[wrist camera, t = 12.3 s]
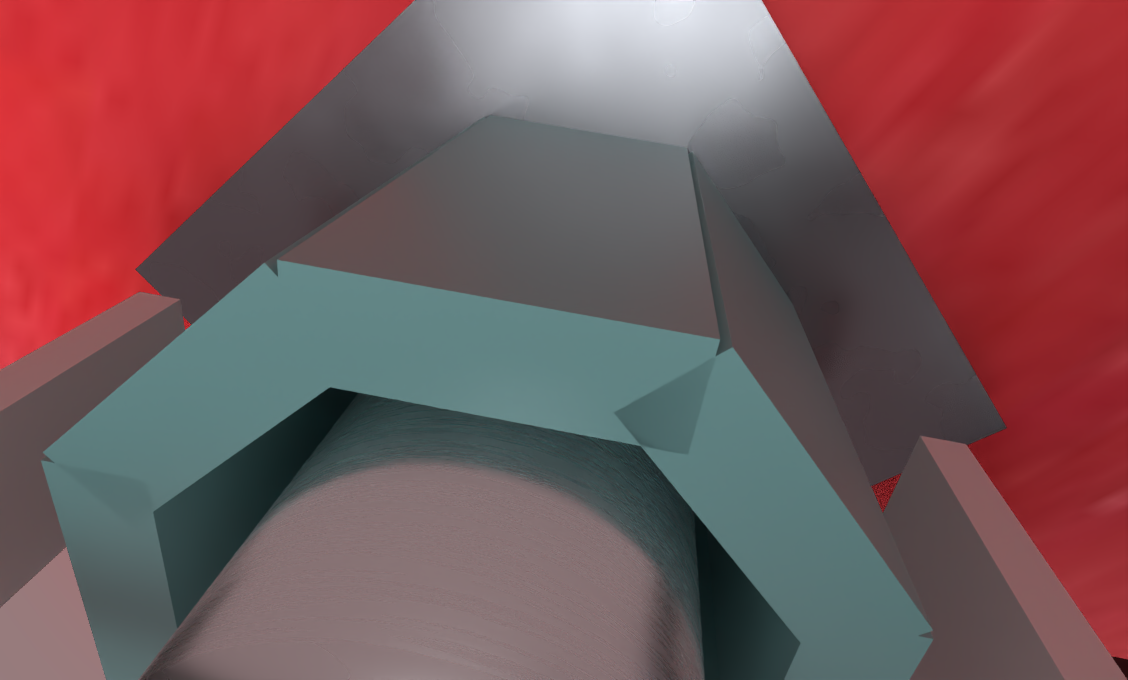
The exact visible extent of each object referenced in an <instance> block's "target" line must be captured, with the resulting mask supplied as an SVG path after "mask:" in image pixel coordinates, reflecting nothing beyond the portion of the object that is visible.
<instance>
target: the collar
mask: <svg viewBox="0 0 1128 680" xmlns="http://www.w3.org/2000/svg"><path fill="white" fill-rule="evenodd" d="M358 393H363V394H368V395H374V396H379V397H384V398H390V399H395V400H400V401H405V402H411V403H416V404H421V405H426V406H432V407H437V408H442V409H448V410H453V411H458V412H463V413H469V414H474V415H479V416H484V417H490V418H495V419H500V420H506V421H511V422H516V423H521V424H527V425H532V426H537V427H542V428H548V429H553V430H558V431H564V432H569V433H574V434H579V435H585V436H590V437H595V438H600V439H606V440H611V441H616V442H622V443H627V444H632V445H637V446H641V447H642V448H643V449H644V451H645V452H646V453H647V454H648V455H649V457H650V458H651V459H652V460H653V462H654V463H655V464H656V465H657V467H658V468H659V469H660V470H661V471H662V473H663V474H664V475H665V476H666V478H667V479H668V480H669V481H670V483H671V484H672V485H673V486H674V487H675V489H676V490H677V491H678V492H679V494H680V495H681V496H682V497H683V499H684V500H685V501H686V502H687V504H688V505H689V506H690V507H691V508H692V510H693V511H694V519H695V535H696V550H697V566H698V582H699V597H700V613H701V629H702V644H703V660H704V676H705V680H910V678H911V676H912V675H913V673H914V671H915V670H916V668H917V666H918V664H919V663H920V661H921V659H922V658H923V656H924V654H925V653H926V651H927V649H928V648H929V646H930V644H931V643H932V641H933V636H932V634H931V632H930V631H933V629H932V626H931V624H930V622H929V619H928V617H927V615H926V612H925V610H924V608H923V605H922V603H921V601H920V598H919V596H918V594H917V591H916V589H915V587H914V584H913V582H912V580H911V577H910V575H909V573H908V571H907V568H906V566H905V564H904V561H903V559H902V557H901V554H900V552H899V550H898V547H897V545H896V543H895V540H894V538H893V536H892V533H891V531H890V529H889V526H888V524H887V522H886V519H885V517H884V515H883V513H882V510H881V508H880V506H879V503H878V501H877V499H876V496H875V494H874V492H873V489H872V487H871V485H870V482H869V480H868V478H867V475H866V473H865V471H864V468H863V466H862V464H861V461H860V459H859V457H858V455H857V452H856V450H855V448H854V445H853V443H852V441H851V438H850V436H849V434H848V431H847V429H846V427H845V424H844V422H843V420H842V417H841V415H840V413H839V410H838V408H837V406H836V403H835V401H834V399H833V396H832V394H831V392H830V390H829V387H828V385H827V383H826V380H825V378H824V376H823V373H822V371H821V369H820V366H819V364H818V362H817V359H816V357H815V355H814V352H813V350H812V348H811V345H810V343H809V341H808V338H807V336H806V334H805V332H804V329H803V327H802V325H801V322H800V320H799V318H798V315H797V313H796V311H795V308H794V306H793V304H792V302H791V301H790V299H789V298H788V296H787V295H786V293H785V292H784V290H783V289H782V287H781V286H780V284H779V282H778V281H777V279H776V278H775V276H774V275H773V273H772V272H771V270H770V269H769V267H768V266H767V264H766V263H765V261H764V260H763V258H762V257H761V255H760V253H759V252H758V250H757V249H756V247H755V246H754V244H753V243H752V241H751V240H750V238H749V237H748V235H747V234H746V232H745V231H744V229H743V228H742V226H741V224H740V223H739V221H738V220H737V218H736V217H735V215H734V214H733V212H732V211H731V209H730V208H729V206H728V205H727V203H726V202H725V200H724V199H723V197H722V195H721V194H720V192H719V191H718V189H717V188H716V186H715V185H714V183H713V182H712V180H711V179H710V177H709V176H708V174H707V173H706V171H705V170H704V168H703V166H702V165H701V163H700V162H699V160H698V159H697V157H696V156H695V154H694V153H693V151H692V152H691V153H689V154H688V151H687V148H686V147H680V146H674V145H668V144H662V143H656V142H650V141H644V140H638V139H632V138H626V137H620V136H614V135H608V134H602V133H596V132H590V131H584V130H577V129H571V128H565V127H559V126H553V125H547V124H541V123H535V122H529V121H523V120H517V119H511V118H505V117H499V116H493V115H490V116H488V117H487V118H485V117H483V118H482V119H480V120H479V121H477V122H475V123H474V124H472V125H471V126H469V127H468V128H466V129H465V130H463V131H462V132H460V133H459V134H457V135H456V136H454V137H453V138H451V139H450V140H448V141H447V142H445V143H444V144H442V145H441V146H439V147H438V148H436V149H435V150H433V151H432V152H430V153H429V154H427V155H426V156H424V157H423V158H421V159H420V160H418V161H417V162H415V163H414V164H412V165H411V166H409V167H408V168H406V169H405V170H403V171H402V172H400V173H399V174H397V175H396V176H394V177H393V178H391V179H390V180H388V181H387V182H385V183H384V184H382V185H381V186H379V187H378V188H376V189H375V190H373V191H372V192H370V193H369V194H367V195H366V196H364V197H362V198H361V199H359V200H358V201H356V202H355V203H353V204H352V205H350V206H349V207H347V208H346V209H344V210H343V211H341V212H340V213H338V214H337V215H335V216H334V217H332V218H331V219H329V220H328V221H326V222H325V223H323V224H322V225H320V226H319V227H317V228H316V229H314V230H313V231H311V232H310V233H308V234H307V235H305V236H304V237H302V238H301V239H299V240H298V241H296V242H295V243H293V244H292V245H290V246H289V247H287V248H286V249H284V250H283V251H281V252H280V253H278V254H277V255H275V256H274V257H272V258H271V259H269V260H268V261H266V262H265V263H263V264H262V265H261V266H260V267H259V268H258V269H256V270H255V271H254V272H253V273H252V274H251V275H249V276H248V277H247V278H246V279H245V280H243V281H242V282H241V283H240V284H239V285H238V286H236V287H235V288H234V289H233V290H232V291H231V292H229V293H228V294H227V295H226V296H225V297H224V298H222V299H221V300H220V301H219V302H218V303H217V304H215V305H214V306H213V307H212V308H211V309H210V310H208V311H207V312H206V313H205V314H204V315H203V316H201V317H200V318H199V319H198V320H197V321H196V322H194V323H193V324H192V325H191V326H190V327H189V328H187V329H186V330H185V331H184V332H183V333H182V334H180V335H179V336H178V337H177V338H176V339H175V340H173V341H172V342H171V343H170V344H169V345H168V346H166V347H165V348H164V349H163V350H162V351H161V352H159V353H158V354H157V355H156V356H155V357H154V358H152V359H151V360H150V361H149V362H148V363H147V364H145V365H144V366H143V367H142V368H141V369H140V370H138V371H137V372H136V373H135V374H134V375H133V376H131V377H130V378H129V379H128V380H127V381H126V382H124V383H123V384H122V385H121V386H120V387H119V388H117V389H116V390H115V391H114V392H113V393H112V394H110V395H109V396H108V397H107V398H106V399H104V400H103V401H102V402H101V403H100V404H99V405H97V406H96V407H95V408H94V409H93V410H92V411H90V412H89V413H88V414H87V415H86V416H85V417H83V418H82V419H81V420H80V421H79V422H78V423H76V424H75V425H74V426H73V427H72V428H71V429H69V430H68V431H67V432H66V433H65V434H64V435H62V436H61V437H60V438H59V439H58V440H57V441H55V442H54V443H53V444H52V445H51V446H50V447H48V448H47V449H46V450H45V451H44V452H43V453H44V454H45V455H46V457H44V458H43V459H42V460H41V463H42V466H43V469H44V473H45V476H46V480H47V483H48V486H49V490H50V493H51V496H52V500H53V503H54V506H55V510H56V513H57V516H58V520H59V523H60V526H61V530H62V533H63V536H64V540H65V543H66V547H67V550H68V553H69V557H70V560H71V563H72V567H73V570H74V573H75V577H76V580H77V583H78V586H79V590H80V593H81V597H82V600H83V603H84V607H85V610H86V613H87V617H88V620H89V624H90V627H91V630H92V633H93V637H94V640H95V644H96V647H97V650H98V654H99V657H100V660H101V664H102V667H103V670H104V674H105V677H106V680H138V679H139V678H140V677H141V675H142V674H143V673H144V671H145V670H146V669H147V667H148V666H149V665H150V664H151V662H152V661H153V660H154V658H155V657H156V656H157V654H158V653H159V652H160V651H161V649H162V648H163V647H164V645H165V644H166V643H167V641H168V640H169V639H170V638H171V636H172V635H173V634H174V632H175V631H176V630H177V628H178V627H179V626H180V625H181V623H182V622H183V621H184V619H185V618H186V617H187V615H188V614H189V613H190V612H191V610H192V609H193V608H194V606H195V605H196V604H197V602H198V601H199V600H200V599H201V597H202V596H203V595H204V593H205V592H206V591H207V589H208V588H209V587H210V586H211V584H212V583H213V582H214V580H215V579H216V578H217V576H218V575H219V574H220V573H221V571H222V570H223V569H224V567H225V566H226V565H227V563H228V562H229V561H230V559H231V558H232V557H233V556H234V554H235V553H236V552H237V550H238V549H239V548H240V546H241V545H242V544H243V543H244V541H245V540H246V539H247V537H248V536H249V535H250V533H251V532H252V531H253V530H254V528H255V527H256V526H257V524H258V523H259V522H260V520H261V519H262V518H263V517H264V515H265V514H266V513H267V511H268V510H269V509H270V507H271V506H272V505H273V504H274V502H275V501H276V500H277V498H278V497H279V496H280V494H281V493H282V492H283V491H284V489H285V488H286V487H287V485H288V484H289V483H290V481H291V480H292V479H293V478H294V476H295V475H296V474H297V472H298V471H299V470H300V468H301V467H302V466H303V465H304V463H305V462H306V461H307V459H308V458H309V457H310V455H311V454H312V453H313V452H314V450H315V449H316V448H317V446H318V445H319V444H320V442H321V441H322V440H323V439H324V437H325V436H326V435H327V433H328V432H329V431H330V429H331V428H332V427H333V426H334V424H335V423H336V422H337V420H338V419H339V418H340V416H341V415H342V414H343V413H344V411H345V410H346V409H347V407H348V406H349V405H350V403H351V402H352V401H353V400H354V398H355V397H356V396H357V394H358Z"/></svg>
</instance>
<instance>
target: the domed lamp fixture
mask: <svg viewBox="0 0 1128 680" xmlns="http://www.w3.org/2000/svg"><path fill="white" fill-rule="evenodd" d="M490 115H493V116H499V117H505V118H511V119H517V120H523V121H529V122H535V123H541V124H547V125H553V126H559V127H565V128H571V129H577V130H584V131H590V132H596V133H602V134H608V135H614V136H620V137H626V138H632V139H638V140H644V141H650V142H656V143H662V144H668V145H674V146H680V147H686V148H687V151H688V154H689V153H691V152H692V151H693V153H694V154H695V156H696V157H697V159H698V160H699V162H700V163H701V165H702V166H703V168H704V170H705V171H706V173H707V174H708V176H709V177H710V179H711V180H712V182H713V183H714V185H715V186H716V188H717V189H718V191H719V192H720V194H721V195H722V197H723V199H724V200H725V202H726V203H727V205H728V206H729V208H730V209H731V211H732V212H733V214H734V215H735V217H736V218H737V220H738V221H739V223H740V224H741V226H742V228H743V229H744V231H745V232H746V234H747V235H748V237H749V238H750V240H751V241H752V243H753V244H754V246H755V247H756V249H757V250H758V252H759V253H760V255H761V257H762V258H763V260H764V261H765V263H766V264H767V266H768V267H769V269H770V270H771V272H772V273H773V275H774V276H775V278H776V279H777V281H778V282H779V284H780V286H781V287H782V289H783V290H784V292H785V293H786V295H787V296H788V298H789V299H790V301H791V302H792V304H793V306H794V308H795V311H796V313H797V315H798V318H799V320H800V322H801V325H802V327H803V329H804V332H805V334H806V336H807V338H808V341H809V343H810V345H811V348H812V350H813V352H814V355H815V357H816V359H817V362H818V364H819V366H820V369H821V371H822V373H823V376H824V378H825V380H826V383H827V385H828V387H829V390H830V392H831V394H832V396H833V399H834V401H835V403H836V406H837V408H838V410H839V413H840V415H841V417H842V420H843V422H844V424H845V427H846V429H847V431H848V434H849V436H850V438H851V441H852V443H853V445H854V448H855V450H856V452H857V455H858V457H859V459H860V461H861V464H862V466H863V468H864V471H865V473H866V475H867V478H868V480H869V482H870V485H871V486H873V485H875V484H877V483H880V482H882V481H884V480H887V479H889V478H891V477H894V476H896V475H898V474H901V473H902V472H903V470H904V468H905V466H906V464H907V462H908V460H909V458H910V455H911V453H912V451H913V449H914V447H915V445H916V443H917V441H918V439H919V437H920V436H925V437H930V438H936V439H941V440H947V441H952V442H957V443H963V444H966V445H968V444H971V443H973V442H975V441H978V440H980V439H982V438H985V437H987V436H989V435H992V434H994V433H996V432H999V431H1001V430H1003V429H1006V428H1007V427H1006V426H1005V424H1004V422H1003V420H1002V419H1001V417H1000V415H999V413H998V412H997V410H996V408H995V406H994V405H993V403H992V401H991V399H990V398H989V396H988V394H987V392H986V391H985V389H984V387H983V386H982V384H981V382H980V380H979V379H978V377H977V375H976V373H975V372H974V370H973V368H972V366H971V365H970V363H969V361H968V359H967V358H966V356H965V354H964V352H963V351H962V349H961V347H960V345H959V344H958V342H957V340H956V338H955V337H954V335H953V333H952V331H951V330H950V328H949V326H948V324H947V323H946V321H945V319H944V318H943V316H942V314H941V312H940V311H939V309H938V307H937V305H936V304H935V302H934V300H933V298H932V297H931V295H930V293H929V291H928V290H927V288H926V286H925V284H924V283H923V281H922V279H921V277H920V276H919V274H918V272H917V270H916V269H915V267H914V265H913V263H912V262H911V260H910V258H909V257H908V255H907V253H906V251H905V250H904V248H903V246H902V244H901V243H900V241H899V239H898V237H897V236H896V234H895V232H894V230H893V229H892V227H891V225H890V223H889V222H888V220H887V218H886V216H885V215H884V213H883V211H882V209H881V208H880V206H879V204H878V202H877V201H876V199H875V197H874V196H873V194H872V192H871V190H870V189H869V187H868V185H867V183H866V182H865V180H864V178H863V176H862V175H861V173H860V171H859V169H858V168H857V166H856V164H855V162H854V161H853V159H852V157H851V155H850V154H849V152H848V150H847V148H846V147H845V145H844V143H843V141H842V140H841V138H840V136H839V134H838V133H837V131H836V129H835V128H834V126H833V124H832V122H831V121H830V119H829V117H828V115H827V114H826V112H825V110H824V108H823V107H822V105H821V103H820V101H819V100H818V98H817V96H816V94H815V93H814V91H813V89H812V87H811V86H810V84H809V82H808V80H807V79H806V77H805V75H804V73H803V72H802V70H801V68H800V67H799V65H798V63H797V61H796V60H795V58H794V56H793V54H792V53H791V51H790V49H789V47H788V46H787V44H786V42H785V40H784V39H783V37H782V35H781V33H780V32H779V30H778V28H777V26H776V25H775V23H774V21H773V19H772V18H771V16H770V14H769V12H768V11H767V9H766V7H765V6H764V4H763V2H762V0H415V1H414V2H413V3H411V4H410V5H409V6H408V7H407V8H406V9H405V10H404V11H403V12H402V13H401V14H400V15H399V16H398V17H397V18H396V19H395V20H394V21H393V22H392V23H391V24H390V25H389V26H388V27H387V28H386V29H384V30H383V31H382V32H381V33H380V34H379V35H378V36H377V37H376V38H375V39H374V40H373V41H372V42H371V43H370V44H369V45H368V46H367V47H366V48H365V49H364V50H363V51H362V52H361V53H360V54H359V55H357V56H356V57H355V58H354V59H353V60H352V61H351V62H350V63H349V64H348V65H347V66H346V67H345V68H344V69H343V70H342V71H341V72H340V73H339V74H338V75H337V76H336V77H335V78H334V79H333V80H332V81H331V82H329V83H328V84H327V85H326V86H325V87H324V88H323V89H322V90H321V91H320V92H319V93H318V94H317V95H316V96H315V97H314V98H313V99H312V100H311V101H310V102H309V103H308V104H307V105H306V106H305V107H304V108H302V109H301V110H300V111H299V112H298V113H297V114H296V115H295V116H294V117H293V118H292V119H291V120H290V121H289V122H288V123H287V124H286V125H285V126H284V127H283V128H282V129H281V130H280V131H279V132H278V133H277V134H275V135H274V136H273V137H272V138H271V139H270V140H269V141H268V142H267V143H266V144H265V145H264V146H263V147H262V148H261V149H260V150H259V151H258V152H257V153H256V154H255V155H254V156H253V157H252V158H251V159H250V160H249V161H247V162H246V163H245V164H244V165H243V166H242V167H241V168H240V169H239V170H238V171H237V172H236V173H235V174H234V175H233V176H232V177H231V178H230V179H229V180H228V181H227V182H226V183H225V184H224V185H223V186H222V187H220V188H219V189H218V190H217V191H216V192H215V193H214V194H213V195H212V196H211V197H210V198H209V199H208V200H207V201H206V202H205V203H204V204H203V205H202V206H201V207H200V208H199V209H198V210H197V211H196V212H195V213H193V214H192V215H191V216H190V217H189V218H188V219H187V220H186V221H185V222H184V223H183V224H182V225H181V226H180V227H179V228H178V229H177V230H176V231H175V232H174V233H173V234H172V235H171V236H170V237H169V238H168V239H167V240H165V241H164V242H163V243H162V244H161V245H160V246H159V247H158V248H157V249H156V250H155V251H154V252H153V253H152V254H151V255H150V256H149V257H148V258H147V259H146V260H145V261H144V262H143V263H142V264H141V265H140V266H138V267H137V268H136V269H135V270H136V271H137V272H138V273H139V274H140V275H141V276H143V277H144V278H145V279H146V280H147V281H148V282H149V283H150V284H151V285H152V286H153V287H154V288H155V289H156V290H157V291H158V292H159V293H160V294H161V295H162V296H165V297H171V298H176V299H180V301H181V308H182V314H183V317H184V318H185V319H186V320H187V321H188V322H189V323H190V324H191V325H192V324H193V323H194V322H196V321H197V320H198V319H199V318H200V317H201V316H203V315H204V314H205V313H206V312H207V311H208V310H210V309H211V308H212V307H213V306H214V305H215V304H217V303H218V302H219V301H220V300H221V299H222V298H224V297H225V296H226V295H227V294H228V293H229V292H231V291H232V290H233V289H234V288H235V287H236V286H238V285H239V284H240V283H241V282H242V281H243V280H245V279H246V278H247V277H248V276H249V275H251V274H252V273H253V272H254V271H255V270H256V269H258V268H259V267H260V266H261V265H262V264H263V263H265V262H266V261H268V260H269V259H271V258H272V257H274V256H275V255H277V254H278V253H280V252H281V251H283V250H284V249H286V248H287V247H289V246H290V245H292V244H293V243H295V242H296V241H298V240H299V239H301V238H302V237H304V236H305V235H307V234H308V233H310V232H311V231H313V230H314V229H316V228H317V227H319V226H320V225H322V224H323V223H325V222H326V221H328V220H329V219H331V218H332V217H334V216H335V215H337V214H338V213H340V212H341V211H343V210H344V209H346V208H347V207H349V206H350V205H352V204H353V203H355V202H356V201H358V200H359V199H361V198H362V197H364V196H366V195H367V194H369V193H370V192H372V191H373V190H375V189H376V188H378V187H379V186H381V185H382V184H384V183H385V182H387V181H388V180H390V179H391V178H393V177H394V176H396V175H397V174H399V173H400V172H402V171H403V170H405V169H406V168H408V167H409V166H411V165H412V164H414V163H415V162H417V161H418V160H420V159H421V158H423V157H424V156H426V155H427V154H429V153H430V152H432V151H433V150H435V149H436V148H438V147H439V146H441V145H442V144H444V143H445V142H447V141H448V140H450V139H451V138H453V137H454V136H456V135H457V134H459V133H460V132H462V131H463V130H465V129H466V128H468V127H469V126H471V125H472V124H474V123H475V122H477V121H479V120H480V119H482V118H483V117H485V118H487V117H488V116H490ZM138 680H705V676H704V660H703V644H702V629H701V613H700V597H699V582H698V566H697V550H696V535H695V519H694V511H693V510H692V508H691V507H690V506H689V505H688V504H687V502H686V501H685V500H684V499H683V497H682V496H681V495H680V494H679V492H678V491H677V490H676V489H675V487H674V486H673V485H672V484H671V483H670V481H669V480H668V479H667V478H666V476H665V475H664V474H663V473H662V471H661V470H660V469H659V468H658V467H657V465H656V464H655V463H654V462H653V460H652V459H651V458H650V457H649V455H648V454H647V453H646V452H645V451H644V449H643V448H642V447H641V446H637V445H632V444H627V443H622V442H616V441H611V440H606V439H600V438H595V437H590V436H585V435H579V434H574V433H569V432H564V431H558V430H553V429H548V428H542V427H537V426H532V425H527V424H521V423H516V422H511V421H506V420H500V419H495V418H490V417H484V416H479V415H474V414H469V413H463V412H458V411H453V410H448V409H442V408H437V407H432V406H426V405H421V404H416V403H411V402H405V401H400V400H395V399H390V398H384V397H379V396H374V395H368V394H363V393H358V394H357V396H356V397H355V398H354V400H353V401H352V402H351V403H350V405H349V406H348V407H347V409H346V410H345V411H344V413H343V414H342V415H341V416H340V418H339V419H338V420H337V422H336V423H335V424H334V426H333V427H332V428H331V429H330V431H329V432H328V433H327V435H326V436H325V437H324V439H323V440H322V441H321V442H320V444H319V445H318V446H317V448H316V449H315V450H314V452H313V453H312V454H311V455H310V457H309V458H308V459H307V461H306V462H305V463H304V465H303V466H302V467H301V468H300V470H299V471H298V472H297V474H296V475H295V476H294V478H293V479H292V480H291V481H290V483H289V484H288V485H287V487H286V488H285V489H284V491H283V492H282V493H281V494H280V496H279V497H278V498H277V500H276V501H275V502H274V504H273V505H272V506H271V507H270V509H269V510H268V511H267V513H266V514H265V515H264V517H263V518H262V519H261V520H260V522H259V523H258V524H257V526H256V527H255V528H254V530H253V531H252V532H251V533H250V535H249V536H248V537H247V539H246V540H245V541H244V543H243V544H242V545H241V546H240V548H239V549H238V550H237V552H236V553H235V554H234V556H233V557H232V558H231V559H230V561H229V562H228V563H227V565H226V566H225V567H224V569H223V570H222V571H221V573H220V574H219V575H218V576H217V578H216V579H215V580H214V582H213V583H212V584H211V586H210V587H209V588H208V589H207V591H206V592H205V593H204V595H203V596H202V597H201V599H200V600H199V601H198V602H197V604H196V605H195V606H194V608H193V609H192V610H191V612H190V613H189V614H188V615H187V617H186V618H185V619H184V621H183V622H182V623H181V625H180V626H179V627H178V628H177V630H176V631H175V632H174V634H173V635H172V636H171V638H170V639H169V640H168V641H167V643H166V644H165V645H164V647H163V648H162V649H161V651H160V652H159V653H158V654H157V656H156V657H155V658H154V660H153V661H152V662H151V664H150V665H149V666H148V667H147V669H146V670H145V671H144V673H143V674H142V675H141V677H140V678H139V679H138Z"/></svg>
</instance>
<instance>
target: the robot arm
mask: <svg viewBox="0 0 1128 680" xmlns="http://www.w3.org/2000/svg"><path fill="white" fill-rule="evenodd" d="M184 331H185V327H184V321H183V314H182V308H181V301H180V299H176V298H171V297H165V296H160V295H154V294H149V293H144V292H138V293H137V294H135V295H133V296H131V297H129V298H128V299H126V300H124V301H122V302H121V303H119V304H117V305H115V306H113V307H112V308H110V309H108V310H106V311H104V312H103V313H101V314H99V315H97V316H96V317H94V318H92V319H90V320H88V321H87V322H85V323H83V324H81V325H80V326H78V327H76V328H74V329H72V330H71V331H69V332H67V333H65V334H63V335H62V336H60V337H58V338H56V339H55V340H53V341H51V342H49V343H47V344H46V345H44V346H42V347H40V348H39V349H37V350H35V351H33V352H31V353H30V354H28V355H26V356H24V357H22V358H21V359H19V360H17V361H15V362H14V363H12V364H10V365H8V366H6V367H5V368H3V369H1V370H0V607H1V606H2V605H3V604H5V603H6V602H7V601H8V600H9V599H10V598H11V597H12V596H13V595H14V594H15V593H17V592H18V591H19V590H20V589H21V588H22V587H23V586H24V585H25V584H26V583H27V582H28V581H30V580H31V579H32V578H33V577H34V576H35V575H36V574H37V573H38V572H39V571H41V570H42V569H43V568H44V567H45V566H46V565H47V564H48V563H49V562H50V561H51V560H52V559H53V558H55V556H57V555H58V554H59V553H60V552H61V551H62V550H63V549H64V548H65V547H66V543H65V540H64V536H63V533H62V530H61V526H60V523H59V520H58V516H57V513H56V510H55V506H54V503H53V500H52V496H51V493H50V490H49V486H48V483H47V480H46V476H45V473H44V469H43V466H42V463H41V460H42V459H43V458H44V457H46V455H45V454H44V453H43V452H44V451H45V450H46V449H47V448H48V447H50V446H51V445H52V444H53V443H54V442H55V441H57V440H58V439H59V438H60V437H61V436H62V435H64V434H65V433H66V432H67V431H68V430H69V429H71V428H72V427H73V426H74V425H75V424H76V423H78V422H79V421H80V420H81V419H82V418H83V417H85V416H86V415H87V414H88V413H89V412H90V411H92V410H93V409H94V408H95V407H96V406H97V405H99V404H100V403H101V402H102V401H103V400H104V399H106V398H107V397H108V396H109V395H110V394H112V393H113V392H114V391H115V390H116V389H117V388H119V387H120V386H121V385H122V384H123V383H124V382H126V381H127V380H128V379H129V378H130V377H131V376H133V375H134V374H135V373H136V372H137V371H138V370H140V369H141V368H142V367H143V366H144V365H145V364H147V363H148V362H149V361H150V360H151V359H152V358H154V357H155V356H156V355H157V354H158V353H159V352H161V351H162V350H163V349H164V348H165V347H166V346H168V345H169V344H170V343H171V342H172V341H173V340H175V339H176V338H177V337H178V336H179V335H180V334H182V333H183V332H184ZM883 515H884V517H885V519H886V522H887V524H888V526H889V529H890V531H891V533H892V536H893V538H894V540H895V543H896V545H897V547H898V550H899V552H900V554H901V557H902V559H903V561H904V564H905V566H906V568H907V571H908V573H909V575H910V577H911V580H912V582H913V584H914V587H915V589H916V591H917V594H918V596H919V598H920V601H921V603H922V605H923V608H924V610H925V612H926V615H927V617H928V619H929V622H930V624H931V626H932V629H933V631H930V632H931V634H932V636H933V641H932V643H931V644H930V646H929V648H928V649H927V651H926V653H925V654H924V656H923V658H922V659H921V661H920V663H919V664H918V666H917V668H916V670H915V671H914V673H913V675H912V676H911V678H910V680H1128V660H1127V659H1122V658H1117V657H1112V656H1111V655H1110V654H1109V652H1108V651H1107V649H1106V648H1105V646H1104V645H1103V643H1102V642H1101V640H1100V639H1099V638H1098V636H1097V635H1096V633H1095V632H1094V630H1093V629H1092V627H1091V626H1090V624H1089V623H1088V621H1087V620H1086V619H1085V617H1084V616H1083V614H1082V613H1081V611H1080V610H1079V608H1078V607H1077V605H1076V604H1075V602H1074V601H1073V600H1072V598H1071V597H1070V595H1069V594H1068V592H1067V591H1066V589H1065V588H1064V586H1063V585H1062V584H1061V582H1060V581H1059V579H1058V578H1057V576H1056V575H1055V573H1054V572H1053V570H1052V569H1051V567H1050V566H1049V565H1048V563H1047V562H1046V560H1045V559H1044V557H1043V556H1042V554H1041V553H1040V551H1039V550H1038V548H1037V547H1036V546H1035V544H1034V543H1033V541H1032V540H1031V538H1030V537H1029V535H1028V534H1027V532H1026V531H1025V529H1024V528H1023V527H1022V525H1021V524H1020V522H1019V521H1018V519H1017V518H1016V516H1015V515H1014V513H1013V512H1012V511H1011V509H1010V508H1009V506H1008V505H1007V503H1006V502H1005V500H1004V499H1003V497H1002V496H1001V494H1000V493H999V492H998V490H997V489H996V487H995V486H994V484H993V483H992V481H991V480H990V478H989V477H988V475H987V474H986V473H985V471H984V470H983V468H982V467H981V465H980V464H979V462H978V461H977V459H976V458H975V456H974V455H973V454H972V452H971V451H970V449H969V448H968V446H967V445H966V444H963V443H957V442H952V441H947V440H941V439H936V438H930V437H925V436H920V437H919V439H918V441H917V443H916V445H915V447H914V449H913V451H912V453H911V455H910V458H909V460H908V462H907V464H906V466H905V468H904V470H903V472H902V474H901V476H900V478H899V481H898V483H897V485H896V487H895V489H894V491H893V493H892V495H891V497H890V499H889V501H888V504H887V506H886V508H885V510H884V512H883Z"/></svg>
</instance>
